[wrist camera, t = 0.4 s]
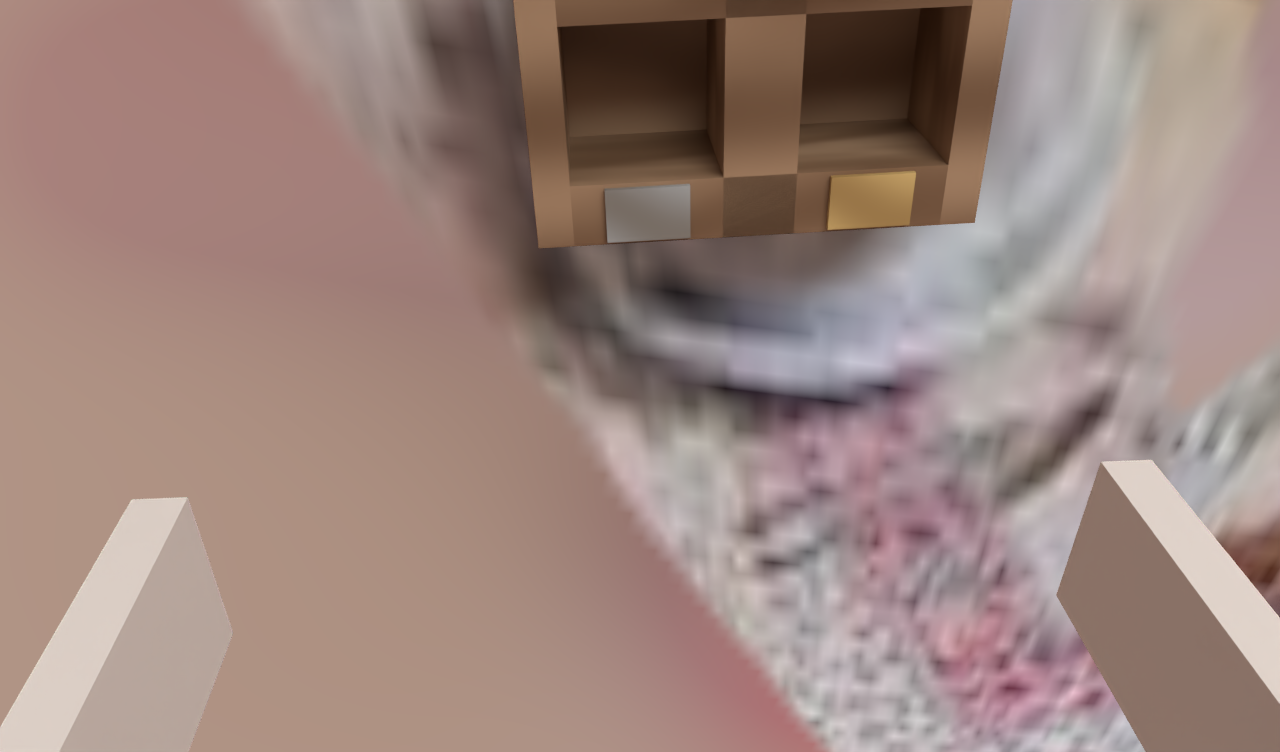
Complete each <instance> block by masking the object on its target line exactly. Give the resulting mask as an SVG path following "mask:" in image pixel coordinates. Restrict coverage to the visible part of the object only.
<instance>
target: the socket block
mask: <svg viewBox="0 0 1280 752" xmlns="http://www.w3.org/2000/svg"><path fill="white" fill-rule="evenodd" d="M1012 1H1013V0H513V4H514V14H515V23H516V33H517V43H518V52H519V62H520V72H521V82H522V91H523V101H524V111H525V120H526V130H527V140H528V149H529V159H530V169H531V179H532V188H533V198H534V208H535V217H536V227H537V237H538V247H539V248H553V247H570V246H587V245H604V244H621V243H638V242H654V241H671V240H688V239H705V238H722V237H739V236H756V235H773V234H790V233H807V232H824V231H841V230H857V229H874V228H891V227H908V226H925V225H942V224H959V223H975V217H976V211H977V205H978V199H979V194H980V188H981V182H982V176H983V170H984V164H985V158H986V153H987V147H988V141H989V135H990V129H991V123H992V117H993V112H994V106H995V100H996V94H997V88H998V82H999V77H1000V71H1001V65H1002V59H1003V53H1004V47H1005V41H1006V36H1007V30H1008V24H1009V18H1010V12H1011V6H1012Z"/></svg>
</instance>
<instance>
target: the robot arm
mask: <svg viewBox="0 0 1280 752" xmlns="http://www.w3.org/2000/svg"><path fill="white" fill-rule="evenodd" d="M1057 597H1058V599H1059V601H1060V602H1061V604H1062V606H1063V608H1064V609H1065V611H1066V613H1067V615H1068V616H1069V618H1070V620H1071V622H1072V623H1073V625H1074V627H1075V629H1076V631H1077V632H1078V634H1079V636H1080V638H1081V639H1082V641H1083V643H1084V645H1085V646H1086V648H1087V650H1088V652H1089V653H1090V655H1091V657H1092V659H1093V660H1094V662H1095V664H1096V666H1097V667H1098V669H1099V671H1100V673H1101V674H1102V676H1103V678H1104V680H1105V681H1106V683H1107V685H1108V687H1109V688H1110V690H1111V692H1112V694H1113V695H1114V697H1115V699H1116V701H1117V702H1118V704H1119V706H1120V708H1121V709H1122V711H1123V713H1124V715H1125V716H1126V718H1127V720H1128V722H1129V723H1130V725H1131V727H1132V729H1133V730H1134V732H1135V734H1136V736H1137V737H1138V739H1139V741H1140V743H1141V744H1142V746H1143V748H1144V750H1145V751H1146V752H1280V618H1279V616H1278V615H1277V614H1276V613H1275V611H1274V610H1273V609H1272V608H1271V606H1270V605H1269V604H1268V603H1267V602H1266V600H1265V599H1264V598H1263V597H1262V595H1261V594H1260V593H1259V592H1258V590H1257V589H1256V588H1255V587H1254V586H1253V584H1252V583H1251V582H1250V581H1249V579H1248V578H1247V577H1246V576H1245V574H1244V573H1243V572H1242V571H1241V569H1240V568H1239V567H1238V566H1237V565H1236V563H1235V562H1234V561H1233V560H1232V558H1231V557H1230V556H1229V555H1228V553H1227V552H1226V551H1225V550H1224V549H1223V547H1222V546H1221V545H1220V544H1219V542H1218V541H1217V540H1216V539H1215V537H1214V536H1213V535H1212V534H1211V533H1210V531H1209V530H1208V529H1207V528H1206V526H1205V525H1204V524H1203V523H1202V521H1201V520H1200V519H1199V518H1198V516H1197V515H1196V514H1195V513H1194V512H1193V510H1192V509H1191V508H1190V507H1189V505H1188V504H1187V503H1186V502H1185V500H1184V499H1183V498H1182V497H1181V496H1180V494H1179V493H1178V492H1177V491H1176V489H1175V488H1174V487H1173V486H1172V484H1171V483H1170V482H1169V481H1168V480H1167V478H1166V477H1165V476H1164V475H1163V473H1162V472H1161V471H1160V470H1159V468H1158V467H1157V466H1156V465H1155V463H1154V462H1153V461H1152V460H1136V461H1111V462H1101V463H1100V466H1099V469H1098V472H1097V475H1096V478H1095V481H1094V484H1093V487H1092V490H1091V493H1090V496H1089V499H1088V502H1087V505H1086V508H1085V511H1084V514H1083V517H1082V520H1081V523H1080V526H1079V529H1078V532H1077V535H1076V538H1075V541H1074V544H1073V547H1072V550H1071V553H1070V556H1069V559H1068V562H1067V565H1066V568H1065V571H1064V574H1063V577H1062V580H1061V583H1060V586H1059V589H1058V592H1057ZM232 635H233V631H232V628H231V625H230V622H229V619H228V616H227V613H226V610H225V607H224V604H223V601H222V598H221V595H220V592H219V589H218V586H217V583H216V580H215V577H214V574H213V571H212V568H211V565H210V562H209V559H208V556H207V553H206V550H205V547H204V544H203V541H202V538H201V535H200V532H199V529H198V526H197V524H196V520H195V517H194V514H193V511H192V508H191V506H190V502H189V500H188V497H181V498H155V499H132V500H131V501H130V503H129V505H128V507H127V508H126V510H125V512H124V514H123V516H122V517H121V519H120V521H119V522H118V524H117V526H116V528H115V529H114V531H113V533H112V534H111V536H110V538H109V540H108V541H107V543H106V545H105V546H104V548H103V550H102V552H101V553H100V555H99V557H98V559H97V560H96V562H95V564H94V565H93V567H92V569H91V571H90V572H89V574H88V576H87V578H86V579H85V581H84V583H83V585H82V586H81V588H80V590H79V591H78V593H77V595H76V597H75V599H74V600H73V602H72V604H71V605H70V607H69V609H68V611H67V612H66V614H65V616H64V618H63V619H62V621H61V623H60V624H59V626H58V628H57V630H56V631H55V633H54V635H53V637H52V638H51V640H50V642H49V643H48V645H47V647H46V649H45V650H44V652H43V654H42V656H41V657H40V659H39V661H38V662H37V664H36V666H35V668H34V669H33V671H32V673H31V675H30V676H29V678H28V680H27V682H26V683H25V685H24V687H23V688H22V690H21V692H20V694H19V696H18V697H17V699H16V701H15V702H14V704H13V706H12V707H11V709H10V711H9V713H8V714H7V716H6V718H5V720H4V721H3V723H2V725H1V727H0V752H189V749H190V747H191V744H192V741H193V739H194V736H195V733H196V731H197V728H198V725H199V723H200V720H201V717H202V715H203V712H204V709H205V707H206V704H207V702H208V699H209V696H210V693H211V691H212V688H213V685H214V683H215V680H216V678H217V675H218V672H219V670H220V667H221V664H222V662H223V659H224V656H225V654H226V651H227V648H228V646H229V643H230V640H231V638H232Z"/></svg>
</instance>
